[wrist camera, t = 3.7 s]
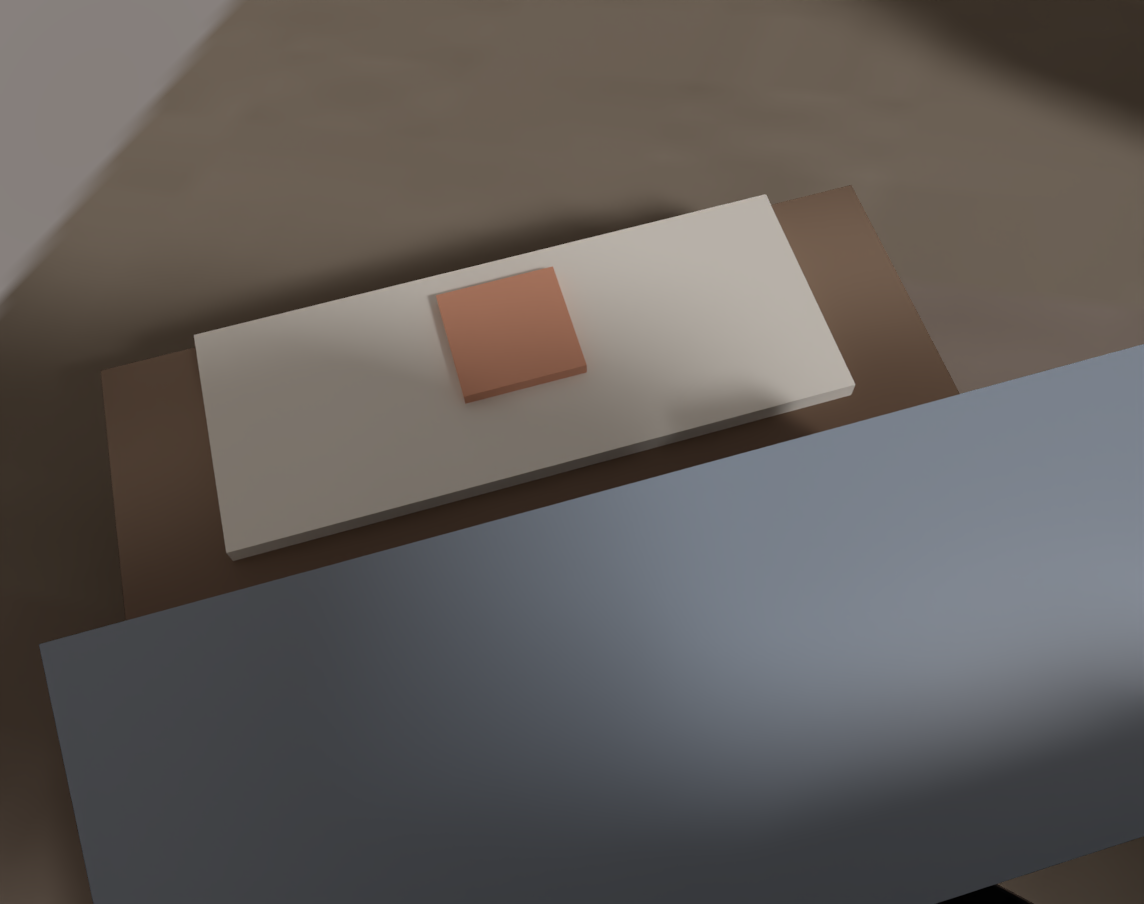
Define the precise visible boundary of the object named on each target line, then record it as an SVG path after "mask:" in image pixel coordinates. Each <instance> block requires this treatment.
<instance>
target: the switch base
mask: <svg viewBox="0 0 1144 904" xmlns="http://www.w3.org/2000/svg"><path fill="white" fill-rule="evenodd" d="M771 206H772V208H773V211H774V213H775V215H776V217H777V219H778V221H779V223H780V225H781V228H782V230H783V232H784V234H785V236H786V238H787V240H788V242H789V245H790V247H791V249H792V251H793V253H794V255H795V257H796V259H797V262H798V264H799V266H800V268H801V270H802V272H803V274H804V276H805V279H806V281H807V283H808V285H809V287H810V289H811V291H812V293H813V296H814V298H815V300H816V302H817V304H818V306H819V308H820V310H821V312H822V315H823V317H824V319H825V321H826V323H827V325H828V327H829V329H830V332H831V334H832V336H833V338H834V340H835V342H836V344H837V346H838V349H839V351H840V353H841V355H842V357H843V359H844V361H845V363H846V366H847V368H848V370H849V372H850V374H851V376H852V378H853V380H854V383H855V387H854V389H853V392H852V394H851V395H849V396H846V397H842V398H838V399H835V400H831V401H827V402H823V403H820V404H816V405H812V406H809V407H805V408H801V409H797V410H794V411H790V412H786V413H782V414H779V415H775V416H771V417H768V418H764V419H760V420H756V421H753V422H749V423H745V424H741V425H738V426H734V427H730V428H727V429H723V430H719V431H715V432H712V433H708V434H704V435H701V436H697V437H693V438H689V439H686V440H682V441H678V442H674V443H671V444H667V445H663V446H660V447H656V448H652V449H648V450H645V451H641V452H637V453H634V454H630V455H626V456H622V457H619V458H615V459H611V460H607V461H604V462H600V463H596V464H593V465H589V466H585V467H581V468H578V469H574V470H570V471H567V472H563V473H559V474H555V475H552V476H548V477H544V478H540V479H537V480H533V481H529V482H526V483H522V484H518V485H514V486H511V487H507V488H503V489H500V490H496V491H492V492H488V493H485V494H481V495H477V496H473V497H470V498H466V499H462V500H459V501H455V502H451V503H447V504H444V505H440V506H436V507H433V508H429V509H425V510H421V511H418V512H414V513H410V514H406V515H403V516H399V517H395V518H392V519H388V520H384V521H380V522H377V523H373V524H369V525H366V526H362V527H358V528H354V529H351V530H347V531H343V532H339V533H336V534H332V535H328V536H325V537H321V538H317V539H313V540H310V541H306V542H302V543H299V544H295V545H291V546H287V547H284V548H280V549H276V550H272V551H269V552H265V553H261V554H258V555H254V556H250V557H246V558H243V559H239V560H235V561H233V560H232V559H231V558H230V557H229V556H228V554H227V553H226V548H225V541H224V534H223V528H222V521H221V514H220V508H219V501H218V494H217V487H216V481H215V474H214V467H213V461H212V454H211V447H210V441H209V434H208V427H207V420H206V414H205V407H204V400H203V394H202V387H201V380H200V374H199V367H198V360H197V353H196V347H194V348H190V349H186V350H182V351H178V352H174V353H170V354H166V355H162V356H157V357H153V358H149V359H145V360H141V361H137V362H133V363H129V364H125V365H121V366H117V367H113V368H109V369H105V370H101V381H102V391H103V401H104V411H105V421H106V431H107V441H108V451H109V461H110V471H111V481H112V491H113V501H114V511H115V521H116V531H117V540H118V550H119V560H120V570H121V580H122V590H123V600H124V610H125V620H130V619H134V618H137V617H141V616H145V615H148V614H152V613H156V612H160V611H163V610H167V609H171V608H174V607H178V606H182V605H185V604H189V603H193V602H196V601H200V600H204V599H207V598H211V597H215V596H218V595H222V594H226V593H229V592H233V591H237V590H241V589H244V588H248V587H252V586H255V585H259V584H263V583H266V582H270V581H274V580H277V579H281V578H285V577H288V576H292V575H296V574H299V573H303V572H307V571H311V570H314V569H318V568H322V567H325V566H329V565H333V564H336V563H340V562H344V561H347V560H351V559H355V558H358V557H362V556H366V555H369V554H373V553H377V552H380V551H384V550H388V549H392V548H395V547H399V546H403V545H406V544H410V543H414V542H417V541H421V540H425V539H428V538H432V537H436V536H439V535H443V534H447V533H450V532H454V531H458V530H461V529H465V528H469V527H473V526H476V525H480V524H484V523H487V522H491V521H495V520H498V519H502V518H506V517H509V516H513V515H517V514H520V513H524V512H528V511H531V510H535V509H539V508H543V507H546V506H550V505H554V504H557V503H561V502H565V501H568V500H572V499H576V498H579V497H583V496H587V495H590V494H594V493H598V492H601V491H605V490H609V489H612V488H616V487H620V486H624V485H627V484H631V483H635V482H638V481H642V480H646V479H649V478H653V477H657V476H660V475H664V474H668V473H671V472H675V471H679V470H682V469H686V468H690V467H693V466H697V465H701V464H705V463H708V462H712V461H716V460H719V459H723V458H727V457H730V456H734V455H738V454H741V453H745V452H749V451H752V450H756V449H760V448H763V447H767V446H771V445H774V444H778V443H782V442H786V441H789V440H793V439H797V438H800V437H804V436H808V435H811V434H815V433H819V432H822V431H826V430H830V429H833V428H837V427H841V426H844V425H848V424H852V423H856V422H859V421H863V420H867V419H870V418H874V417H878V416H881V415H885V414H889V413H892V412H896V411H900V410H903V409H907V408H911V407H914V406H918V405H922V404H925V403H929V402H933V401H937V400H940V399H944V398H948V397H951V396H955V395H959V394H960V393H959V391H958V390H957V388H956V386H955V384H954V382H953V380H952V378H951V376H950V374H949V372H948V370H947V368H946V366H945V365H944V363H943V361H942V359H941V357H940V355H939V353H938V351H937V349H936V347H935V345H934V343H933V341H932V340H931V338H930V336H929V334H928V332H927V330H926V328H925V326H924V324H923V322H922V320H921V318H920V316H919V315H918V313H917V311H916V309H915V307H914V305H913V303H912V301H911V299H910V297H909V295H908V293H907V291H906V290H905V288H904V286H903V284H902V282H901V280H900V278H899V276H898V274H897V272H896V270H895V268H894V266H893V265H892V263H891V261H890V259H889V257H888V255H887V253H886V251H885V249H884V247H883V245H882V243H881V241H880V239H879V238H878V236H877V234H876V232H875V230H874V228H873V226H872V224H871V222H870V220H869V218H868V216H867V214H866V213H865V211H864V209H863V207H862V205H861V203H860V201H859V199H858V197H857V195H856V193H855V191H854V189H853V188H852V186H851V185H849V186H845V187H841V188H837V189H833V190H829V191H825V192H821V193H817V194H813V195H809V196H805V197H801V198H797V199H793V200H789V201H785V202H781V203H777V204H772V205H771Z"/></svg>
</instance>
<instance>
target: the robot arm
mask: <svg viewBox="0 0 1144 904" xmlns="http://www.w3.org/2000/svg"><path fill="white" fill-rule="evenodd" d="M936 904H1033V903H1032V902H1030V901H1028V900H1026V899H1024V898H1022V897H1020V896H1018V895H1017V894H1015V893H1013V892H1011V891H1009V890H1007V889H1005V888H1003V887H1002V886H1000V885H998V884H995V885H992V886H989V887H985V888H982V889H979V890H976V891H973V892H970V893H967V894H964V895H961V896H958V897H954V898H951V899H948V900H945V901H942V902H939V903H936Z"/></svg>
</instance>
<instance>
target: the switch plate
mask: <svg viewBox="0 0 1144 904" xmlns="http://www.w3.org/2000/svg"><path fill="white" fill-rule="evenodd" d="M194 340H195V347H196V353H197V360H198V367H199V374H200V380H201V387H202V394H203V400H204V407H205V414H206V420H207V427H208V434H209V441H210V447H211V454H212V461H213V467H214V474H215V481H216V487H217V494H218V501H219V508H220V514H221V521H222V528H223V534H224V541H225V548H226V553H227V554H228V556H229V557H230V558H231V559H232V560H233V561H235V560H239V559H243V558H246V557H250V556H254V555H258V554H261V553H265V552H269V551H272V550H276V549H280V548H284V547H287V546H291V545H295V544H299V543H302V542H306V541H310V540H313V539H317V538H321V537H325V536H328V535H332V534H336V533H339V532H343V531H347V530H351V529H354V528H358V527H362V526H366V525H369V524H373V523H377V522H380V521H384V520H388V519H392V518H395V517H399V516H403V515H406V514H410V513H414V512H418V511H421V510H425V509H429V508H433V507H436V506H440V505H444V504H447V503H451V502H455V501H459V500H462V499H466V498H470V497H473V496H477V495H481V494H485V493H488V492H492V491H496V490H500V489H503V488H507V487H511V486H514V485H518V484H522V483H526V482H529V481H533V480H537V479H540V478H544V477H548V476H552V475H555V474H559V473H563V472H567V471H570V470H574V469H578V468H581V467H585V466H589V465H593V464H596V463H600V462H604V461H607V460H611V459H615V458H619V457H622V456H626V455H630V454H634V453H637V452H641V451H645V450H648V449H652V448H656V447H660V446H663V445H667V444H671V443H674V442H678V441H682V440H686V439H689V438H693V437H697V436H701V435H704V434H708V433H712V432H715V431H719V430H723V429H727V428H730V427H734V426H738V425H741V424H745V423H749V422H753V421H756V420H760V419H764V418H768V417H771V416H775V415H779V414H782V413H786V412H790V411H794V410H797V409H801V408H805V407H809V406H812V405H816V404H820V403H823V402H827V401H831V400H835V399H838V398H842V397H846V396H849V395H851V394H852V392H853V389H854V387H855V383H854V380H853V378H852V376H851V374H850V372H849V370H848V368H847V366H846V363H845V361H844V359H843V357H842V355H841V353H840V351H839V349H838V346H837V344H836V342H835V340H834V338H833V336H832V334H831V332H830V329H829V327H828V325H827V323H826V321H825V319H824V317H823V315H822V312H821V310H820V308H819V306H818V304H817V302H816V300H815V298H814V296H813V293H812V291H811V289H810V287H809V285H808V283H807V281H806V279H805V276H804V274H803V272H802V270H801V268H800V266H799V264H798V262H797V259H796V257H795V255H794V253H793V251H792V249H791V247H790V245H789V242H788V240H787V238H786V236H785V234H784V232H783V230H782V228H781V225H780V223H779V221H778V219H777V217H776V215H775V213H774V211H773V208H772V206H771V204H770V202H769V200H768V198H767V196H766V194H765V195H761V196H757V197H753V198H749V199H745V200H741V201H737V202H733V203H728V204H724V205H720V206H716V207H712V208H708V209H704V210H700V211H696V212H692V213H688V214H684V215H680V216H676V217H672V218H667V219H663V220H659V221H655V222H651V223H647V224H643V225H639V226H635V227H631V228H627V229H623V230H619V231H615V232H611V233H606V234H602V235H598V236H594V237H590V238H586V239H582V240H578V241H574V242H570V243H566V244H562V245H558V246H554V247H550V248H546V249H541V250H537V251H533V252H529V253H525V254H521V255H517V256H513V257H509V258H505V259H501V260H497V261H493V262H489V263H485V264H480V265H476V266H472V267H468V268H464V269H460V270H456V271H452V272H448V273H444V274H440V275H436V276H432V277H428V278H424V279H419V280H415V281H411V282H407V283H403V284H399V285H395V286H391V287H387V288H383V289H379V290H375V291H371V292H367V293H363V294H358V295H354V296H350V297H346V298H342V299H338V300H334V301H330V302H326V303H322V304H318V305H314V306H310V307H306V308H302V309H298V310H293V311H289V312H285V313H281V314H277V315H273V316H269V317H265V318H261V319H257V320H253V321H249V322H245V323H241V324H237V325H232V326H228V327H224V328H220V329H216V330H212V331H208V332H204V333H200V334H196V335H194Z"/></svg>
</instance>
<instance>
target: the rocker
mask: <svg viewBox="0 0 1144 904" xmlns="http://www.w3.org/2000/svg"><path fill="white" fill-rule="evenodd" d="M39 647H40V652H41V657H42V661H43V666H44V671H45V676H46V680H47V685H48V690H49V695H50V699H51V704H52V709H53V714H54V719H55V723H56V728H57V733H58V738H59V742H60V747H61V752H62V757H63V761H64V766H65V771H66V776H67V780H68V785H69V790H70V795H71V799H72V804H73V809H74V814H75V818H76V823H77V828H78V833H79V838H80V842H81V847H82V852H83V857H84V861H85V866H86V871H87V876H88V880H89V885H90V890H91V895H92V899H93V904H936V903H939V902H942V901H945V900H948V899H951V898H954V897H958V896H961V895H964V894H967V893H970V892H973V891H976V890H979V889H982V888H985V887H989V886H992V885H995V884H998V883H1001V882H1004V881H1007V880H1010V879H1013V878H1016V877H1019V876H1023V875H1026V874H1029V873H1032V872H1035V871H1038V870H1041V869H1044V868H1047V867H1050V866H1053V865H1057V864H1060V863H1063V862H1066V861H1069V860H1072V859H1075V858H1078V857H1081V856H1084V855H1087V854H1091V853H1094V852H1097V851H1100V850H1103V849H1106V848H1109V847H1112V846H1115V845H1118V844H1121V843H1125V842H1128V841H1131V840H1134V839H1137V838H1140V837H1143V836H1144V344H1143V345H1139V346H1135V347H1132V348H1128V349H1124V350H1121V351H1117V352H1113V353H1110V354H1106V355H1102V356H1099V357H1095V358H1091V359H1088V360H1084V361H1080V362H1076V363H1073V364H1069V365H1065V366H1062V367H1058V368H1054V369H1051V370H1047V371H1043V372H1040V373H1036V374H1032V375H1029V376H1025V377H1021V378H1018V379H1014V380H1010V381H1007V382H1003V383H999V384H995V385H992V386H988V387H984V388H981V389H977V390H973V391H970V392H966V393H962V394H959V395H955V396H951V397H948V398H944V399H940V400H937V401H933V402H929V403H925V404H922V405H918V406H914V407H911V408H907V409H903V410H900V411H896V412H892V413H889V414H885V415H881V416H878V417H874V418H870V419H867V420H863V421H859V422H856V423H852V424H848V425H844V426H841V427H837V428H833V429H830V430H826V431H822V432H819V433H815V434H811V435H808V436H804V437H800V438H797V439H793V440H789V441H786V442H782V443H778V444H774V445H771V446H767V447H763V448H760V449H756V450H752V451H749V452H745V453H741V454H738V455H734V456H730V457H727V458H723V459H719V460H716V461H712V462H708V463H705V464H701V465H697V466H693V467H690V468H686V469H682V470H679V471H675V472H671V473H668V474H664V475H660V476H657V477H653V478H649V479H646V480H642V481H638V482H635V483H631V484H627V485H624V486H620V487H616V488H612V489H609V490H605V491H601V492H598V493H594V494H590V495H587V496H583V497H579V498H576V499H572V500H568V501H565V502H561V503H557V504H554V505H550V506H546V507H543V508H539V509H535V510H531V511H528V512H524V513H520V514H517V515H513V516H509V517H506V518H502V519H498V520H495V521H491V522H487V523H484V524H480V525H476V526H473V527H469V528H465V529H461V530H458V531H454V532H450V533H447V534H443V535H439V536H436V537H432V538H428V539H425V540H421V541H417V542H414V543H410V544H406V545H403V546H399V547H395V548H392V549H388V550H384V551H380V552H377V553H373V554H369V555H366V556H362V557H358V558H355V559H351V560H347V561H344V562H340V563H336V564H333V565H329V566H325V567H322V568H318V569H314V570H311V571H307V572H303V573H299V574H296V575H292V576H288V577H285V578H281V579H277V580H274V581H270V582H266V583H263V584H259V585H255V586H252V587H248V588H244V589H241V590H237V591H233V592H229V593H226V594H222V595H218V596H215V597H211V598H207V599H204V600H200V601H196V602H193V603H189V604H185V605H182V606H178V607H174V608H171V609H167V610H163V611H160V612H156V613H152V614H148V615H145V616H141V617H137V618H134V619H130V620H126V621H123V622H119V623H115V624H112V625H108V626H104V627H101V628H97V629H93V630H90V631H86V632H82V633H79V634H75V635H71V636H67V637H64V638H60V639H56V640H53V641H49V642H45V643H42V644H39Z"/></svg>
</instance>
